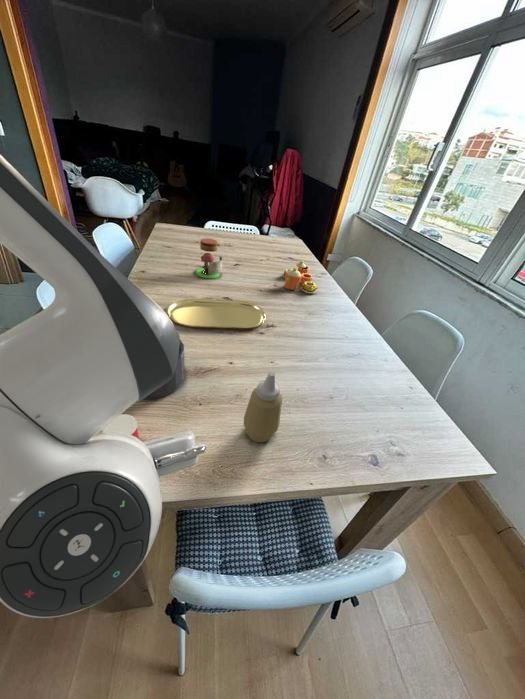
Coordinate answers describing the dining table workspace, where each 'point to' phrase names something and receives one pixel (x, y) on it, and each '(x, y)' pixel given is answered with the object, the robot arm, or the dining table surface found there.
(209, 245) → the mushroom terrarium jar
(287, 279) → the toy tea set
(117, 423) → the disc
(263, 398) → the squeeze bottle
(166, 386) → the pot
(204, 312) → the serving platter
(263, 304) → the dining table surface
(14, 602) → the robot arm
